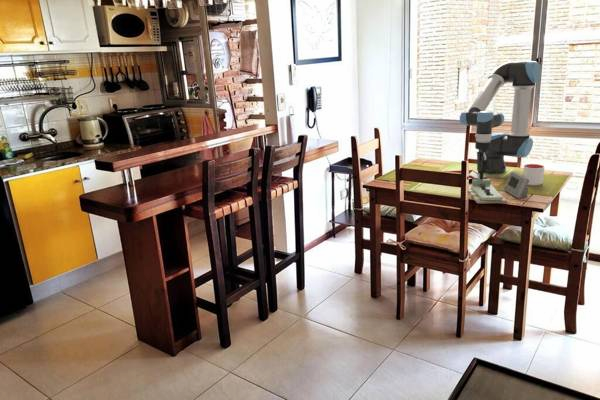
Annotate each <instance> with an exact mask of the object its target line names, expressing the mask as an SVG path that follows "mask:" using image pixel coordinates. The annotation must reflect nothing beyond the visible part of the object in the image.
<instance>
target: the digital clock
mask: <svg viewBox="0 0 600 400" xmlns="http://www.w3.org/2000/svg"><path fill="white" fill-rule="evenodd" d="M505 182H506V183H505V184H504V187H503V190H504V192H507V193H508V194H510V195H511V196H513V197H514V198H517V199H521V198H524V197H528V193H529V192H528V191H529V188H528V187H527V186H528V185H527V184H528V182H529V179H528V178H526V177H525V176H523V174H520V173H519V172H515V171H511V172H510V173H509V175H508V178H507V181H505Z"/></svg>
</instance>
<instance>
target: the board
mask: <svg viewBox="0 0 600 400" xmlns="http://www.w3.org/2000/svg"><path fill="white" fill-rule="evenodd" d="M468 185H469V192H468V194H469V195H470V196H471V198H472V199H473V201H475V203H476V204H507V203H508V200H507V199H506V198H505V197H504V196H503V195H502V194H501V193H500V192H499V190H497V189H496V188H495V187H494V186H493V185H492V184H491V183H490V185H491V186H492V187H493V188H494V189H495V190H496V191H497V192H498V193H499V194H500V195H501V196H502V197H503V200H481V199H480V198H479V197H478V195H477V194H476V193H475V192H474V191H473V189H472V188H471V185H472V184H468ZM480 186H481V188H482V191H486V192H485V193H486V195H487V196H490V195H489V194H488V192H489V191H490V189H484V186H485V184H480Z"/></svg>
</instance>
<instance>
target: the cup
mask: <svg viewBox="0 0 600 400" xmlns="http://www.w3.org/2000/svg"><path fill="white" fill-rule="evenodd" d="M544 172H545V166H544V165H541V164H536V163H526V164H525V165H524V166H523V172H522V175H523V176H525V177H526V178H528V179H529V182H528V184H527V186H531V187H535V186H541V185H542V184H543V182H544Z"/></svg>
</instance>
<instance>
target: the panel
mask: <svg viewBox="0 0 600 400" xmlns="http://www.w3.org/2000/svg"><path fill="white" fill-rule="evenodd" d="M480 184H485V186H484V189H490V191H489V192H488V194H489V195H490V196H487V195H486V193H485V192H486V191H482V188H481V186H480ZM490 184H491V179H490V178H489V179H485V178H484V180H478V179H472V181H471V184H470V185H471V188H472V189H473V191H474V192H475V193H476V194H477V195H478V197H479V198H480V199H481V200H503V197H504V196H503V195H502V194H501V193H500V192H499V191H498V190H497V189H496V188H495V187H494V186H493V185H492V184H491V185H492V186H493V187H494V188H495V189H496V190H497V191H498V192H499V193H500V194H501V195H502V196H503V197H502V196H501V195H500V194H499V193H498V192H497V191H496V190H495V189H494V188H493V187H492V186H491V185H490Z"/></svg>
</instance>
